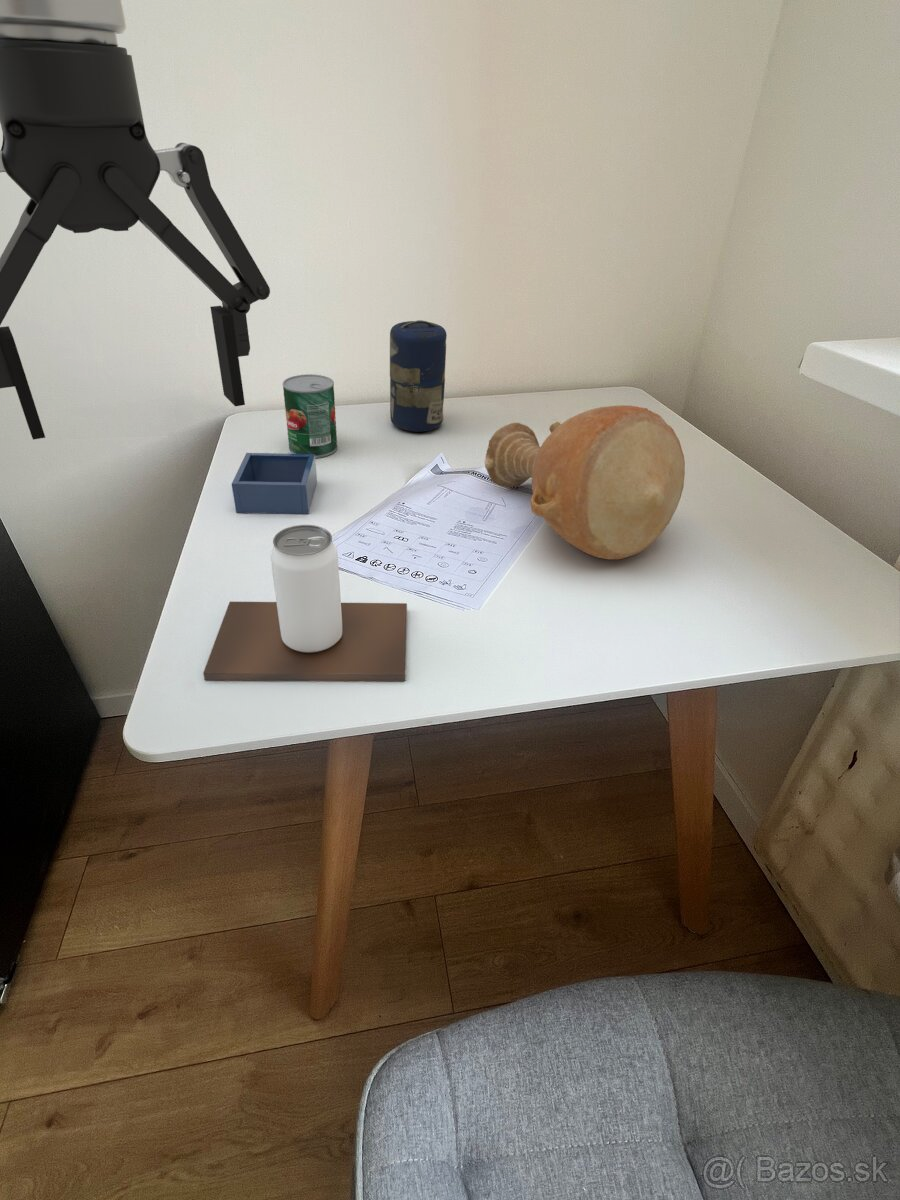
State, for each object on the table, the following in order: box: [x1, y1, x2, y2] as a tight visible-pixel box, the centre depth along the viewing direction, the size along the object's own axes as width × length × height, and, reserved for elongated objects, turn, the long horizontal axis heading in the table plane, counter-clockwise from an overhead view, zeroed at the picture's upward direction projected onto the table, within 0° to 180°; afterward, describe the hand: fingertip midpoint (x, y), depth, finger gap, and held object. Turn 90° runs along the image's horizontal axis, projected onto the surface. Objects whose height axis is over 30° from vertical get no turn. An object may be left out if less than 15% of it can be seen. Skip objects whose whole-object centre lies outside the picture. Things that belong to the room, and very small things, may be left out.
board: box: [202, 601, 408, 682], centre depth 75 cm, size 20×12×1 cm, turn 92°
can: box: [270, 524, 342, 653], centre depth 71 cm, size 6×6×12 cm
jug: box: [484, 404, 686, 560], centre depth 93 cm, size 20×19×30 cm
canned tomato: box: [282, 373, 338, 459], centre depth 112 cm, size 8×8×11 cm
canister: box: [389, 319, 448, 433], centre depth 119 cm, size 10×10×18 cm
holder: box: [231, 452, 318, 515], centre depth 100 cm, size 10×10×4 cm
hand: (141, 415), depth 50 cm, fingers open, 13 cm apart
